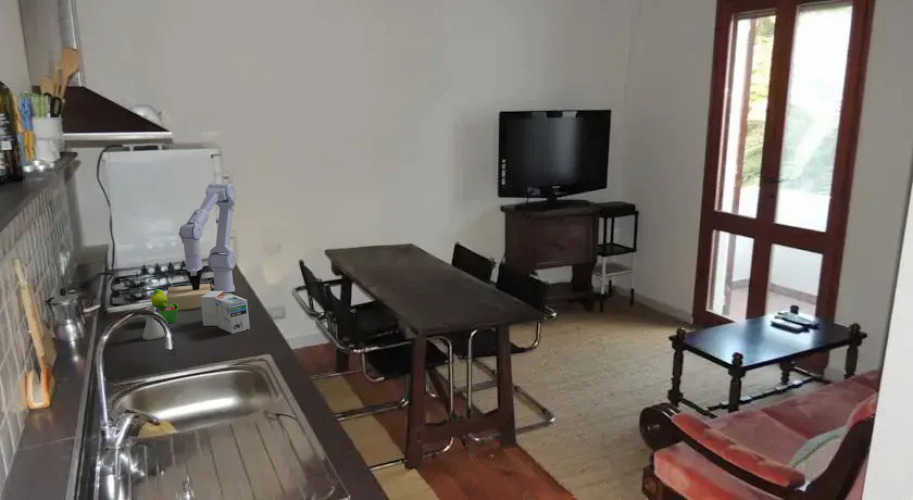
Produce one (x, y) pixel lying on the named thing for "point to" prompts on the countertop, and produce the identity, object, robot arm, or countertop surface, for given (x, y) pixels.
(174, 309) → the fruit basket
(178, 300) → the cardboard box
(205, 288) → the cardboard lid
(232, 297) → the light bulb box
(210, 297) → the small box
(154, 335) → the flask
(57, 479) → the countertop surface
